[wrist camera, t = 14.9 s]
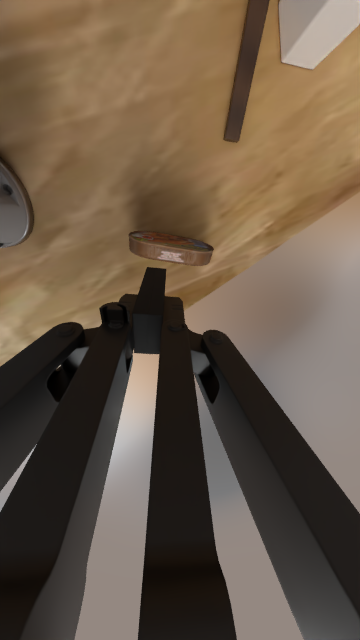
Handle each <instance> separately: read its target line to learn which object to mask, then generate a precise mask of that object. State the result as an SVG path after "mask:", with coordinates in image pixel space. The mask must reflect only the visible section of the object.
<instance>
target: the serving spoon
mask: <svg viewBox="0 0 360 640" xmlns="http://www.w3.org/2000/svg"><path fill="white" fill-rule="evenodd" d="M268 5H269V0H249V2H248V8H247V13H246V19H245V24H244V30H243V35H242V41H241V46H240V52H239V58H238V63H237V69H236V74H235V80H234V85H233V91H232V96H231V102H230V107H229V113H228V118H227V124H226V129H225V135H224V140H225V141H230V142H236V143H237V142H238V141H239V138H240V134H241V129H242V124H243V120H244V115H245V111H246V106H247V101H248V97H249V92H250V88H251V83H252V78H253V74H254V69H255V65H256V60H257V55H258V51H259V46H260V42H261V37H262V32H263V28H264V23H265V19H266V14H267V9H268Z"/></svg>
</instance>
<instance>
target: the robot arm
mask: <svg viewBox="0 0 360 640" xmlns="http://www.w3.org/2000/svg"><path fill="white" fill-rule="evenodd" d="M33 223H34V216H33V209H32V205H31V202H30V199H29V197H28V194H27V192H26V190H25V188H24V187H23V185H22V183H21V182H20V180H19V179H18V177H17V176H16V174H15V173H14V172H13V171H12V169H11V168H10V167H9V166H8V165H7V164H6V163H5V162H4V161H3V160H2V159H1V158H0V248H3V247H10V246H14V245H18V244H20V243H22V242H24V241H25V240H26V239H27V238H28V237H29V235H30V234H31V232H32V229H33ZM165 280H166V269H162V268H151V267H147V269H146V272H145V275H144V278H143V281H142V284H141V287H140V290H139V293H138V295H135V294H125V295H124V296H122V297H121V298H120V300H119V302H111V303H107V304H105V305H102V306H101V307H100V308H99V309H100V314H101V319H102V324H101V326H100V327H96V328H91V329H84V330H83V327H82V325H81V324H79V323H75V322H68V323H62V324H59V325H57V326H55V327H53V328H52V329H51V330H49V331H48V332H46V333H45V334H44V335H42V336H41V337H40V338H38V339H37V340H36V341H34V342H33V343H32V344H30V345H29V346H28V347H26V348H25V349H24V350H22V351H21V352H20V353H18V354H17V355H16V356H14V357H13V358H12V359H10V360H9V361H7V362H6V363H5V364H3V365H2V366H1V367H0V491H1V490H2V489H3V487H4V486H5V485H6V484H7V482H8V481H9V479H10V478H11V477H12V476H13V474H14V473H15V472H16V470H17V469H18V468H19V466H20V465H21V464H22V462H23V461H24V460H25V459H26V457H27V456H28V455H29V453H30V452H31V451H32V449H33V448H34V447H35V445H36V444H37V445H36V447H35V449H34V451H33V452H32V454H31V456H30V458H29V460H28V462H27V464H26V466H25V467H24V469H23V471H22V473H21V475H20V477H19V478H18V480H17V482H16V484H15V486H14V488H13V490H12V492H11V493H10V495H9V497H8V499H7V501H6V503H5V505H4V507H3V508H2V510H1V512H0V640H74V638H75V633H76V629H77V624H78V620H79V616H80V611H81V606H82V601H83V596H84V589H85V583H86V567H87V561H88V556H89V551H90V547H91V542H92V538H93V534H94V529H95V525H96V520H97V516H98V511H99V507H100V503H101V499H102V494H103V490H104V485H105V481H106V476H107V472H108V468H109V463H110V459H111V455H112V450H113V445H114V441H115V437H116V433H117V428H118V424H119V419H120V415H121V411H122V406H123V402H124V397H125V393H126V389H127V384H128V380H129V375H130V371H131V366H132V362H133V355H132V354H133V350H134V353H143V354H160V355H159V369H158V382H157V395H156V409H155V422H154V436H153V450H152V463H151V477H150V489H149V503H148V516H147V530H146V543H145V556H144V569H143V582H142V594H141V606H140V619H139V632H138V640H237V639H236V632H235V626H234V620H233V614H232V609H231V603H230V599H229V594H228V590H227V586H226V582H225V579H224V576H223V573H222V570H221V567H220V564H219V561H218V556H217V552H216V546H215V539H214V532H213V524H212V516H211V508H210V501H209V492H208V485H207V476H206V468H205V460H204V452H203V444H202V437H201V428H200V420H199V413H198V406H197V397H196V390H195V381H194V375H195V377H196V380H197V382H198V385H199V387H200V390H201V392H202V395H203V397H204V399H205V402H206V404H207V406H208V409H209V411H210V414H211V416H212V419H213V421H214V424H215V426H216V429H217V431H218V434H219V436H220V438H221V441H222V443H223V446H224V448H225V451H226V453H227V455H228V458H229V460H230V463H231V465H232V468H233V470H234V472H235V475H236V477H237V480H238V482H239V484H240V487H241V489H242V491H243V494H244V496H245V499H246V502H247V504H248V506H249V509H250V511H251V514H252V516H253V519H254V521H255V523H256V526H257V528H258V531H259V533H260V535H261V538H262V541H263V543H264V545H265V548H266V550H267V553H268V555H269V557H270V560H271V562H272V565H273V567H274V570H275V572H276V575H277V577H278V579H279V582H280V584H281V587H282V589H283V592H284V594H285V597H286V599H287V601H288V604H289V606H290V609H291V611H292V613H293V616H294V618H295V620H296V622H297V625H298V627H299V629H300V632H301V634H302V636H303V638H304V640H360V514H359V512H358V511H357V509H356V508H355V507H354V505H353V504H352V503H351V501H350V500H349V499H348V497H347V496H346V495H345V493H344V492H343V491H342V489H341V488H340V487H339V485H338V484H337V483H336V481H335V480H334V479H333V478H332V476H331V475H330V473H329V472H328V471H327V469H326V468H325V466H324V465H323V464H322V463H321V461H320V460H319V458H318V457H317V456H316V454H315V453H314V452H313V450H312V449H311V448H310V446H309V445H308V444H307V442H306V441H305V440H304V438H303V437H302V436H301V434H300V433H299V432H298V430H297V429H296V428H295V426H294V425H293V424H292V422H291V421H290V420H289V418H288V417H287V416H286V414H285V413H284V411H283V410H282V409H281V407H280V406H279V405H278V403H277V402H276V401H275V400H274V398H273V397H272V395H271V394H270V393H269V391H268V390H267V389H266V388H265V386H264V385H263V383H262V382H261V381H260V379H259V378H258V377H257V375H256V374H255V372H254V371H253V370H252V369H251V367H250V366H249V364H248V363H247V362H246V360H245V359H244V358H243V356H242V355H241V354H240V352H239V351H238V350H237V348H236V347H235V346H234V344H233V343H232V342H231V340H230V339H229V338H228V337H227V336H226V335H225V334H224V333H222V332H220V331H217V330H208V331H206V332H204V333H203V335H201V334H197V333H194V332H192V331H190V330H189V329H188V327H187V325H186V324H185V319H184V310H183V301H182V300H181V299H180V298H179V297H168V296H165ZM60 365H61V366H60ZM59 366H60V367H59ZM58 367H59V368H58ZM57 368H58V369H57Z"/></svg>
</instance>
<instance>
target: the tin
mask: <svg viewBox="0 0 360 640" xmlns="http://www.w3.org/2000/svg"><path fill="white" fill-rule="evenodd" d="M129 247H130V250H131V252H133V253H134V254H136V255H138V256H140V257H144V258H148V259H153V260H159V261H165V262H172V263H178V264H185V265H192V266H203V265H206V264H208V263H209V262H210V259H211V256H212V252H213V250H214V248H213V247H212V246H210V245H208V244H206V243H204V242H202V241H198V240H194V239H190V238H184V237H179V236H173V235H167V234H162V233H156V232H150V231H134V232H130V233H129Z"/></svg>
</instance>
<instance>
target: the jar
mask: <svg viewBox="0 0 360 640" xmlns="http://www.w3.org/2000/svg"><path fill="white" fill-rule="evenodd" d="M359 24H360V0H280V1H279V25H280V43H281V61H282V62H283V63H287V64H291V65H295V66H299V67H303V68H307V69H311V70H312V69H314V68H315V67H316V66H317V65H318V64H319V63H320V62H321V61H322V60H323V59H324V58H325V57H326V56H327V55H329V54H330V53H331V52H332V51H333V50H334V49H335V48H336V47H337V46H338V45H339V44H340V43H341V42H342V41H343V40H344V39H345V38H346V37H347V36H348V35H349V34H350V33H351V32H352V31H353V30H354V29H355V28H356V27H357V26H358V25H359Z"/></svg>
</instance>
